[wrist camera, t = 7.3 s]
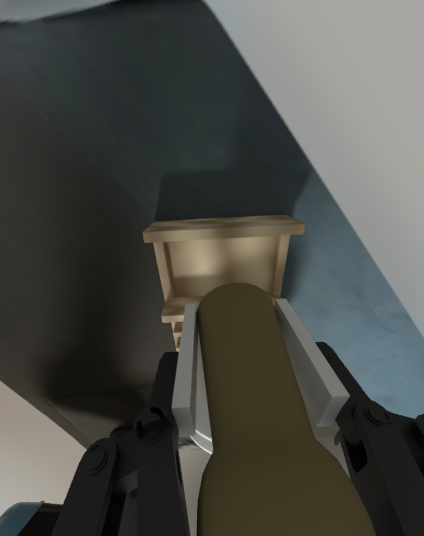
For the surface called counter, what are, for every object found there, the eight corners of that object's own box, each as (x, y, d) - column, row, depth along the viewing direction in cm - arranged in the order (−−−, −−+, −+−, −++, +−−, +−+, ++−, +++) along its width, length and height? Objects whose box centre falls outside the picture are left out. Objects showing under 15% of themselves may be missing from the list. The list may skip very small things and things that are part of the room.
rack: (178, 351, 30) (162, 473, 18) (154, 221, 20) (76, 294, 8) (266, 345, 31) (309, 461, 18) (285, 214, 20) (414, 274, 8)
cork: (274, 335, 15) (400, 626, 5) (205, 346, 15) (205, 639, 6) (272, 275, 12) (529, 657, 3) (187, 290, 13) (129, 675, 3)
